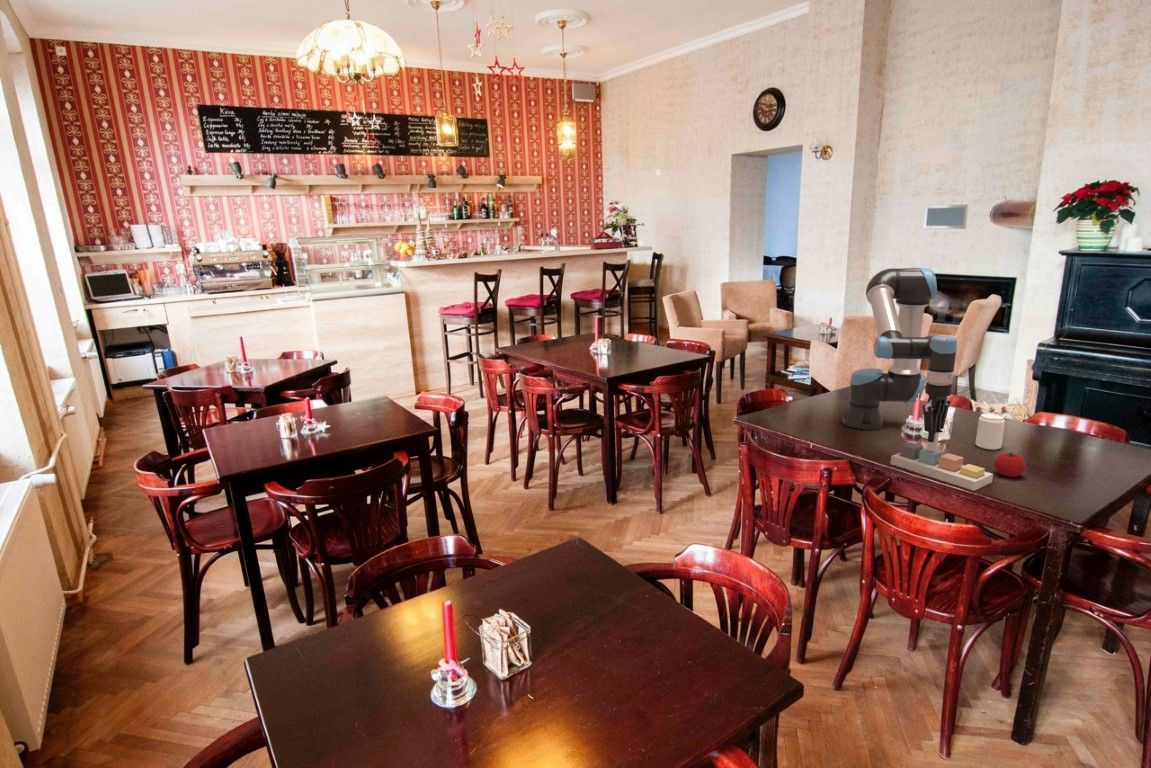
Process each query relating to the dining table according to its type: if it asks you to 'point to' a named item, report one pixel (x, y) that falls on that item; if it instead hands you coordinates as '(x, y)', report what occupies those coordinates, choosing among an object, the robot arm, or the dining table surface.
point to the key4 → (972, 471)
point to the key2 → (930, 457)
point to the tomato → (1010, 464)
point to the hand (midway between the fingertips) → (931, 450)
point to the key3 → (951, 462)
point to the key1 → (910, 450)
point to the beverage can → (990, 431)
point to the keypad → (942, 473)
